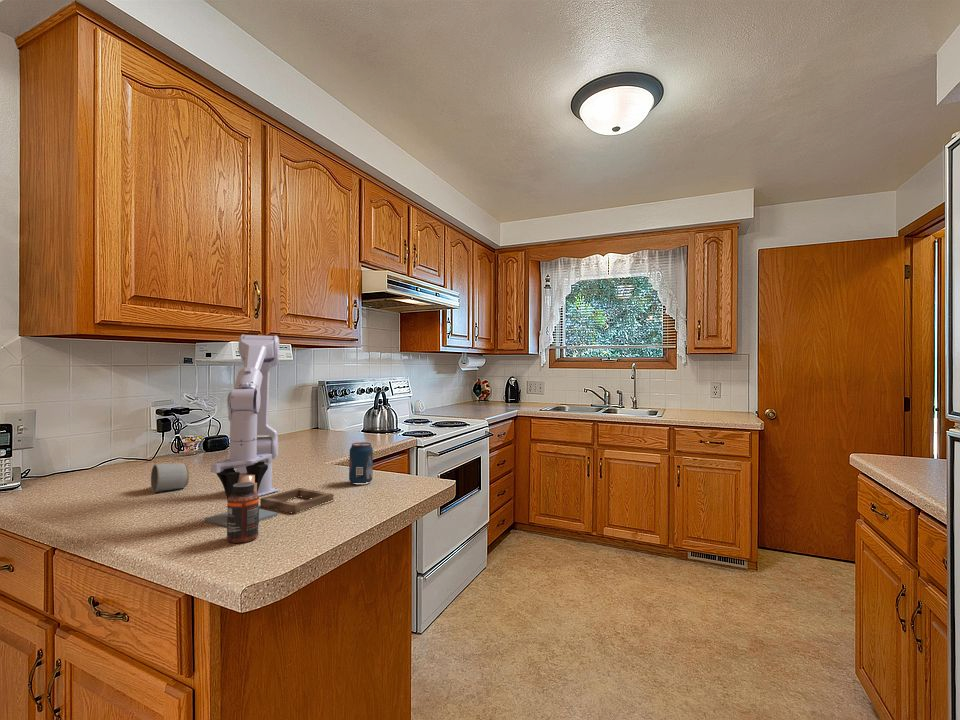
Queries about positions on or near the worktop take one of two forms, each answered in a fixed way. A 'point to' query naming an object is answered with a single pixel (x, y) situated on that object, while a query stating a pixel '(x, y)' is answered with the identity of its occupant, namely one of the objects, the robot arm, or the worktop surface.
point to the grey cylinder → (169, 477)
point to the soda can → (361, 462)
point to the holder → (280, 503)
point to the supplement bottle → (242, 513)
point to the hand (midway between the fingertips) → (242, 497)
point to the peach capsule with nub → (248, 479)
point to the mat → (222, 517)
